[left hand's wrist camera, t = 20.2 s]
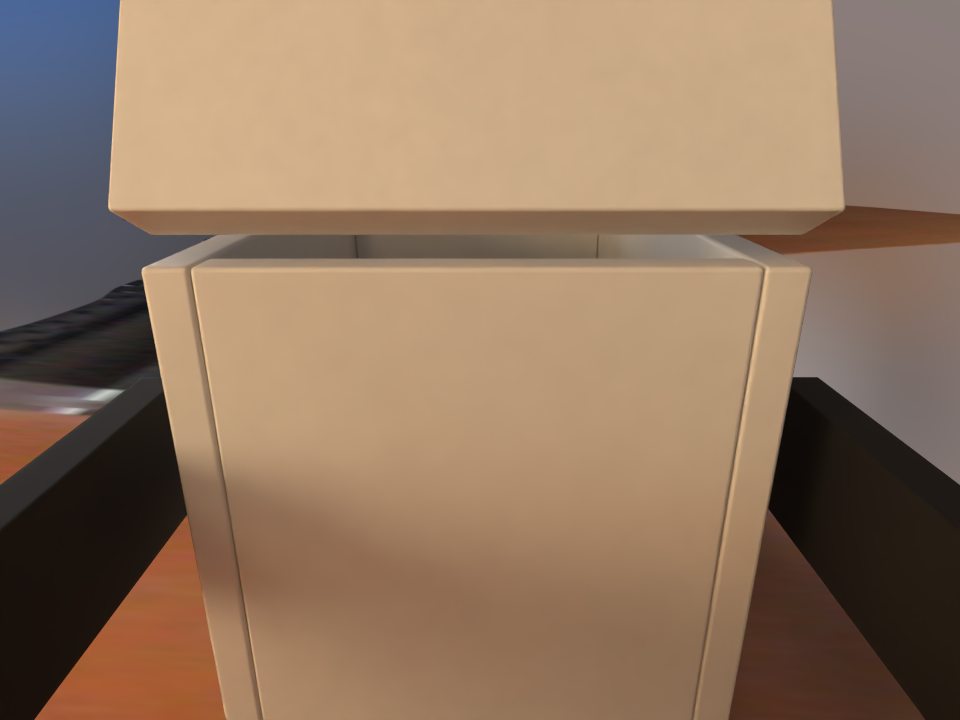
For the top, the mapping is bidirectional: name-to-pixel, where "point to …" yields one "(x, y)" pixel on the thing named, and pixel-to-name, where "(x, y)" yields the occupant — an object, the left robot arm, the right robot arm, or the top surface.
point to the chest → (477, 467)
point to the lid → (476, 117)
